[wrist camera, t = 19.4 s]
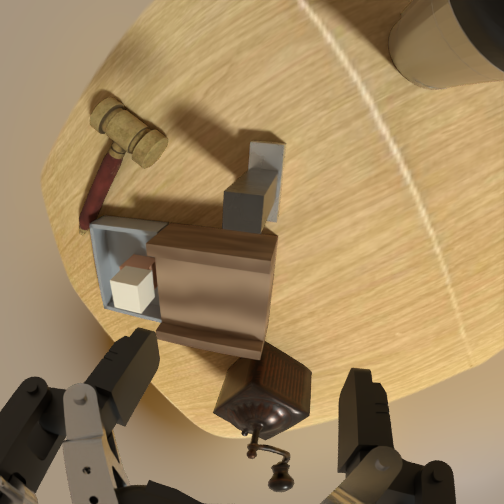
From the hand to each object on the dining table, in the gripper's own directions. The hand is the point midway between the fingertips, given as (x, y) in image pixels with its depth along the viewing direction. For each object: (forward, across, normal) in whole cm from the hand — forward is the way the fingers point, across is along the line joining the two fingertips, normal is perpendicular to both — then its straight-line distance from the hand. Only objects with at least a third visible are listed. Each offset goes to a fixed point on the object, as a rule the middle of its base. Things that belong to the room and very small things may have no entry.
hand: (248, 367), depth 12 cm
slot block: (+26, +8, +12) cm, 30 cm away
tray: (+26, +21, +12) cm, 36 cm away
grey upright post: (+27, +3, -2) cm, 27 cm away
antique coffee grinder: (+27, -2, +30) cm, 40 cm away
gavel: (+27, +25, 0) cm, 37 cm away
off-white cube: (+22, +18, +12) cm, 31 cm away
